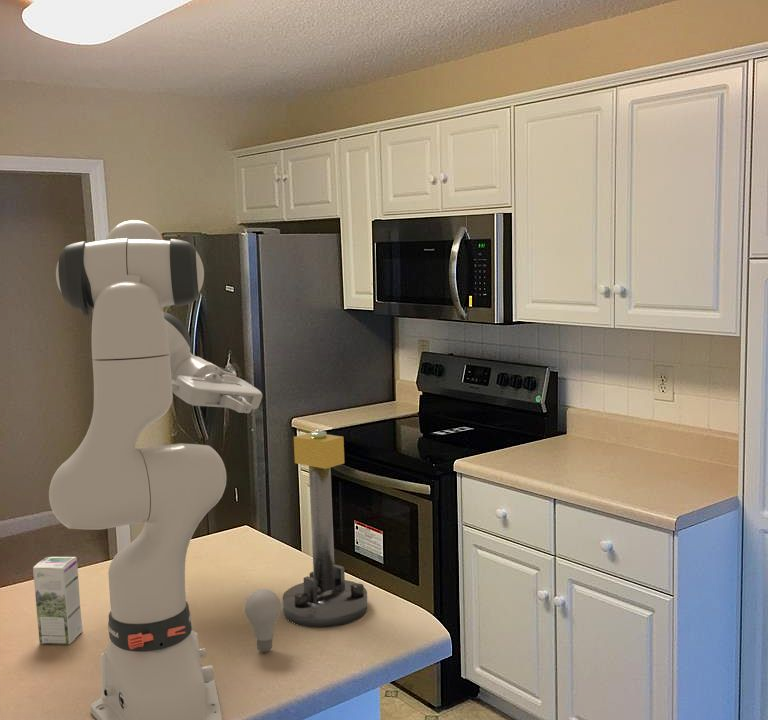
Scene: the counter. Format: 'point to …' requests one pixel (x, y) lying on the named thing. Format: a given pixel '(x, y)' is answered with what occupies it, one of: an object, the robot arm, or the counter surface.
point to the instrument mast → (321, 499)
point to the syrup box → (57, 600)
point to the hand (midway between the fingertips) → (246, 409)
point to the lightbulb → (263, 616)
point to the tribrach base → (325, 602)
